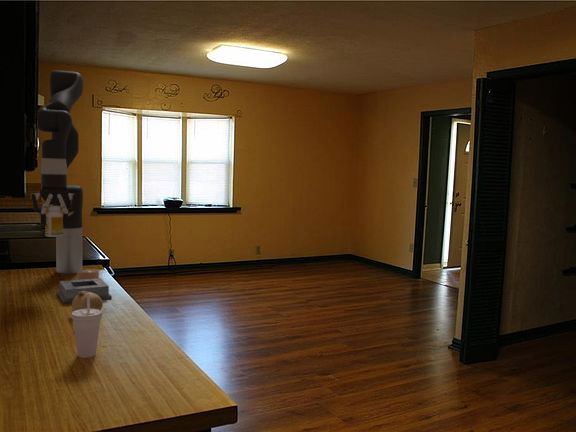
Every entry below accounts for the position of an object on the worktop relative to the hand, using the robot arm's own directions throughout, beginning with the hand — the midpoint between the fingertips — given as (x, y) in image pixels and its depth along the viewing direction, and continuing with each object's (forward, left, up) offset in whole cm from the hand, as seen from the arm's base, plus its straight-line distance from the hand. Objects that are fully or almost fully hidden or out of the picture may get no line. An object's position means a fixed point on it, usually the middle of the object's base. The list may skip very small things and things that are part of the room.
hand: (54, 225), depth 170 cm
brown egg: (-5, +11, -22) cm, 25 cm away
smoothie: (+64, -2, -22) cm, 68 cm away
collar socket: (+10, +7, -22) cm, 25 cm away
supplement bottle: (0, 0, -4) cm, 4 cm away
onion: (+32, +4, -22) cm, 39 cm away
